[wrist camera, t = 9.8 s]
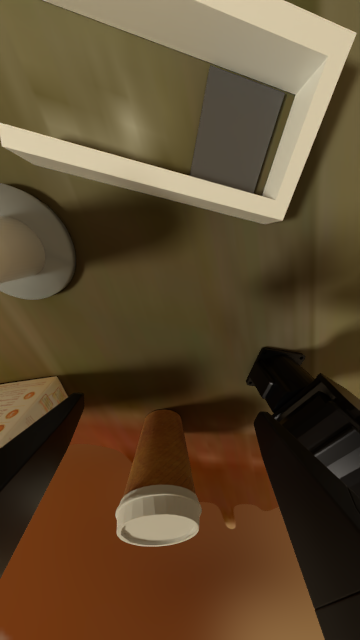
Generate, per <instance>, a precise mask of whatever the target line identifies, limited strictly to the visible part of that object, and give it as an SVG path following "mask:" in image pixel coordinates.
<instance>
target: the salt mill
mask: <svg viewBox="0 0 360 640" xmlns="http://www.w3.org/2000/svg"><path fill="white" fill-rule="evenodd" d="M44 263H45V251H44V248H43V245H42V243H41V241H40V239H39V238H38V237H37V235H36V234H35V233H34V232H33V231H32V230H31V229H30V228H29V227H28V226H27V225H25V224H24V223H22V222H20V221H19V220H16V219H13V218H10V217H4V216H0V284H1V283H5V282H9V281H13V280H18V279H22V278H26V277H30V276H34V275H36V274H37V273H39V272H40V271H41V270H42V268H43V266H44Z"/></svg>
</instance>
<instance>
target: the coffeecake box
mask: <svg viewBox="0 0 360 640" xmlns="http://www.w3.org/2000/svg"><path fill="white" fill-rule="evenodd" d="M67 397H68V396H67V394H66V392H65V390H64V388H63V386H62V384H61V382H60V381H59V379H58V377H57V376H55V377H48V378H41V379H34V380H28V381H20V382H13V383H7V384H0V448H1V447H3V446H4V445H5V444H7V443H8V442H9V441H10V440H12V439H13V438H14V437H16V436H17V435H18V434H20V433H21V432H22V431H24V430H25V429H26V428H28V427H29V426H30V425H32V424H33V423H34V422H36V421H37V420H38V419H40V418H41V417H42V416H44V415H45V414H46V413H48V412H49V411H50V410H51V409H53V408H54V407H55V406H57V405H58V404H59V403H61V402H62V401H63V400H65V399H66V398H67Z"/></svg>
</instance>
